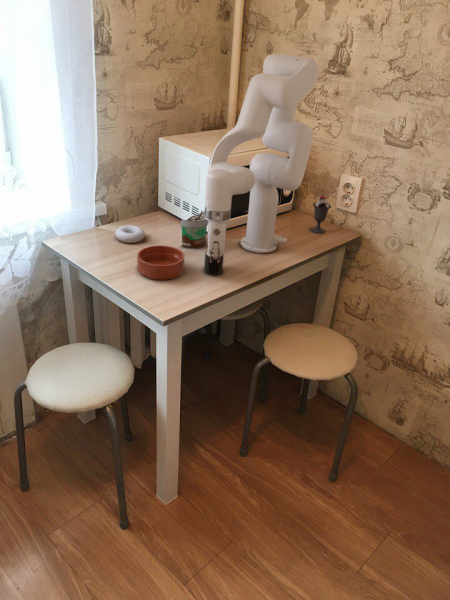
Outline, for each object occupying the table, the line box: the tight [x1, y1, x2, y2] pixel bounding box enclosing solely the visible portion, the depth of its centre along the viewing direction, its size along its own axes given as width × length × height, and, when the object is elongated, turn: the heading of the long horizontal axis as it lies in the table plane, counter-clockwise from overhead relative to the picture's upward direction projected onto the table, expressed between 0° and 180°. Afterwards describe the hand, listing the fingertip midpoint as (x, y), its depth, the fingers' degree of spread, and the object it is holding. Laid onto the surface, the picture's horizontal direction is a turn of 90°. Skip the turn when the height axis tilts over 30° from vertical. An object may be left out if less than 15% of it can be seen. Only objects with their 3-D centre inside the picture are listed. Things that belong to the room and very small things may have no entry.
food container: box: [180, 210, 208, 249], centre depth 172 cm, size 12×6×10 cm, turn 148°
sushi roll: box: [203, 250, 225, 276], centre depth 157 cm, size 6×6×6 cm
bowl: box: [136, 244, 185, 281], centre depth 155 cm, size 14×14×5 cm
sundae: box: [310, 190, 332, 234], centre depth 190 cm, size 7×7×15 cm
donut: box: [114, 224, 146, 244], centre depth 174 cm, size 10×4×10 cm
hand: (213, 268), depth 158 cm, fingers closed on sushi roll, 5 cm apart
